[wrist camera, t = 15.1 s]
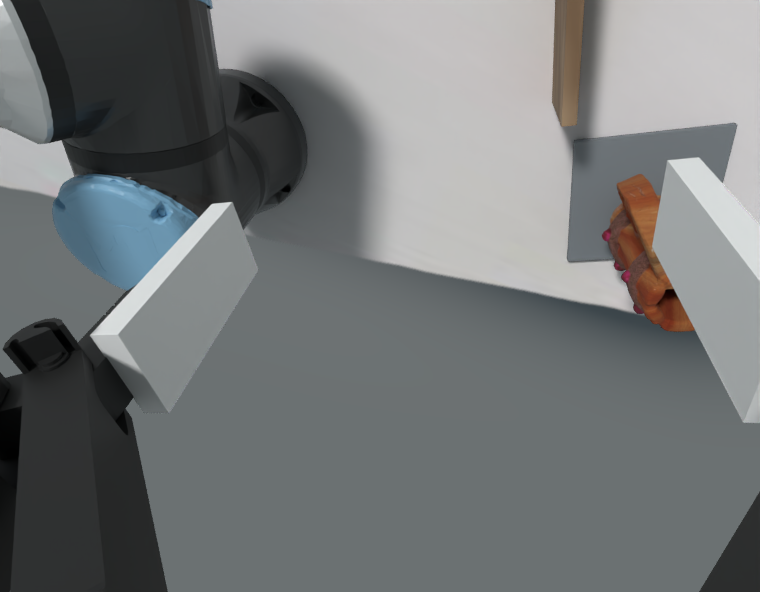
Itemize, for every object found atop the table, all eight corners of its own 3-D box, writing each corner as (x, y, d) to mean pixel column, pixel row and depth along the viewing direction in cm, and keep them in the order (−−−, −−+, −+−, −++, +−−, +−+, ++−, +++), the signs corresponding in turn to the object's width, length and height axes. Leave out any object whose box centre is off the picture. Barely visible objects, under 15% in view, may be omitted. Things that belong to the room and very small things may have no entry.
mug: (695, 240, 52) (757, 334, 41) (616, 268, 56) (652, 362, 44) (656, 121, 46) (717, 191, 34) (569, 161, 49) (597, 238, 38)
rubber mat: (567, 258, 57) (567, 261, 56) (574, 140, 49) (575, 142, 48) (702, 250, 54) (704, 253, 53) (734, 122, 45) (737, 125, 45)
